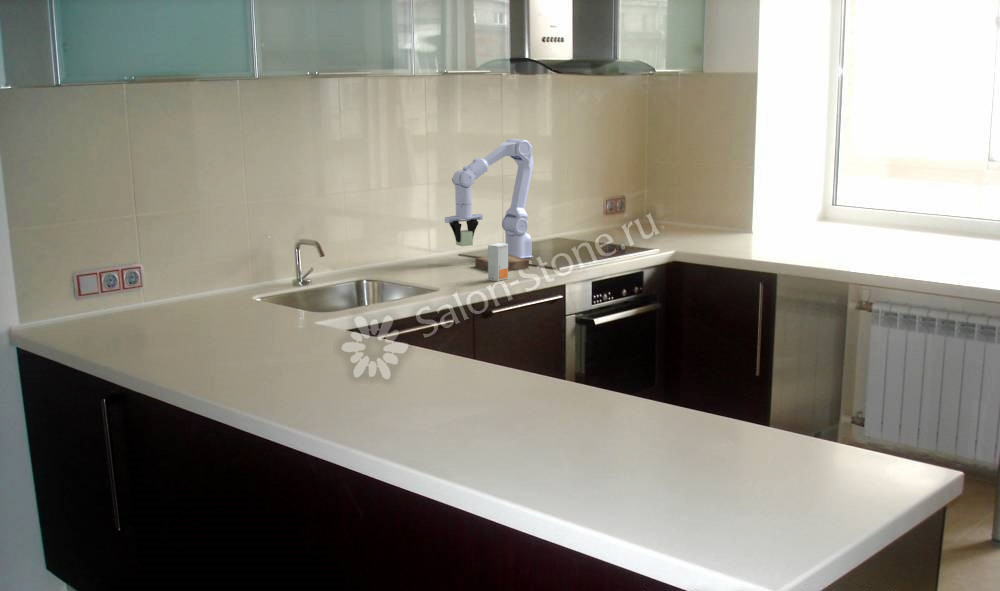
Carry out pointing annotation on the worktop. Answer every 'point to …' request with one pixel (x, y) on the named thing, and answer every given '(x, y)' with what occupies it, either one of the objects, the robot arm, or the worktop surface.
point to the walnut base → (513, 263)
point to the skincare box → (497, 261)
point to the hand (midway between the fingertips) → (464, 241)
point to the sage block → (465, 238)
